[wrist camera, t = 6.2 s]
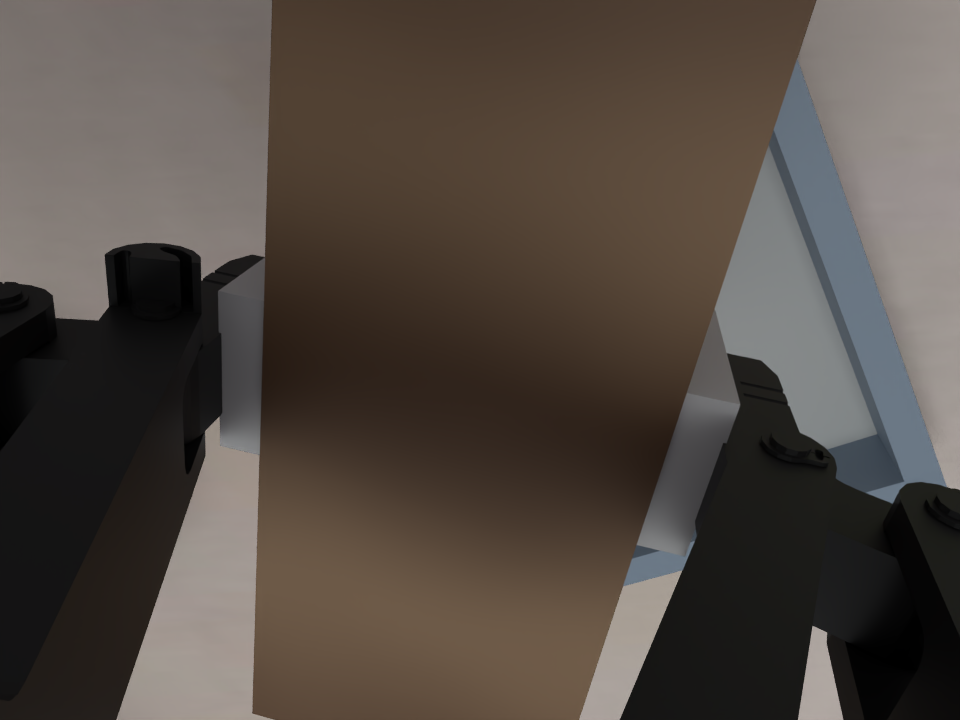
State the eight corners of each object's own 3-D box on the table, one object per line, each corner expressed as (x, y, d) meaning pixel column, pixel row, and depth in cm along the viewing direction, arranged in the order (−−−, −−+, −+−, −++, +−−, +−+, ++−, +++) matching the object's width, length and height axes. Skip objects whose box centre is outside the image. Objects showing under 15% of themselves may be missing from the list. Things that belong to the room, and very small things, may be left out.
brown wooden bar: (576, 552, 20) (553, 797, 14) (364, 500, 21) (252, 713, 15) (756, -80, 13) (865, -150, 7) (434, -133, 14) (279, -241, 8)
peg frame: (390, 177, 36) (357, 203, 32) (761, -22, 30) (785, -24, 25) (597, 547, 44) (594, 609, 39) (928, 450, 37) (969, 511, 33)
